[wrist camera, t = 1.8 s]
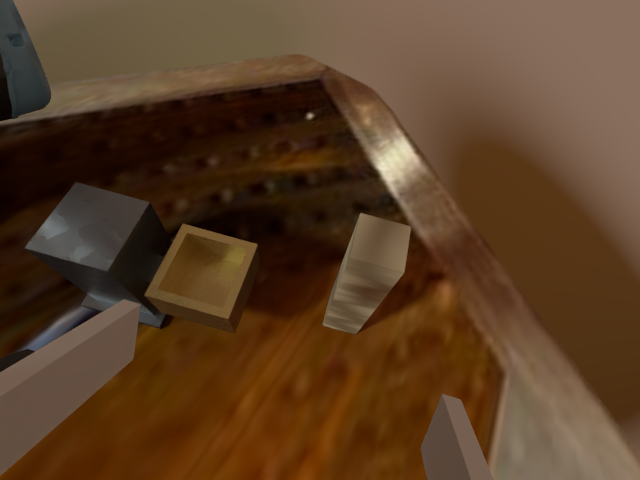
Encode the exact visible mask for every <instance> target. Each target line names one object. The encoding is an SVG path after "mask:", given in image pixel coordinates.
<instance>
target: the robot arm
mask: <svg viewBox="0 0 640 480" xmlns="http://www.w3.org/2000/svg"><path fill="white" fill-rule="evenodd" d="M50 100H51V90H50V87H49V84H48V81H47V78H46V75H45V73H44V70H43V67H42V65H41V62H40V60H39V58H38V55H37V52H36V50H35V48H34V45H33V43H32V41H31V38H30V36H29V34H28V32H27V30H26V27H25V25H24V23H23V21H22V19H21V16H20V14H19V12H18V10H17V8H16V6H15V4H14V2H13V0H0V121H3V120H7V119H15V118H18V116H20V115H23V114H26V113H30V112H33V111H36V110H40V109H43V108H44V107H46V105H47V104H48V103H49V102H50ZM140 305H141V304H138V303H135V302H131V301H128V300H125V299H124V300H122V301H120V302H118V303H117V304H115V305H113V306H112V307H110V308H108V309H107V310H105V311H103V312H102V313H100V314H98V315H96V316H95V317H93V318H91V319H90V320H88V321H86V322H85V323H83V324H81V325H80V326H78V327H76V328H74V329H73V330H71V331H69V332H68V333H66V334H64V335H63V336H61V337H59V338H58V339H56V340H54V341H52V342H51V343H49V344H47V345H46V346H44V347H42V348H41V349H39V350H37V351H36V352H35V351H32V350H29V349H26V350H23V351H20V352H17V353H14V354H11V355H8V356H6V357H4V358H2V359H0V476H1V475H2V474H3V473H4V472H5V471H6V470H8V469H9V468H10V467H11V466H12V465H13V464H14V463H16V462H17V461H18V460H19V459H20V458H21V457H22V456H23V455H25V454H26V453H27V452H28V451H29V450H30V449H31V448H33V447H34V446H35V445H36V444H37V443H38V442H39V441H41V440H42V439H43V438H44V437H45V436H46V435H47V434H49V433H50V432H51V431H52V430H53V429H54V428H55V427H57V426H58V425H59V424H60V423H61V422H62V421H63V420H65V419H66V418H67V417H68V416H69V415H70V414H71V413H73V412H74V411H75V410H76V409H77V408H78V407H79V406H81V405H82V404H83V403H84V402H85V401H86V400H87V399H89V398H90V397H91V396H92V395H93V394H94V393H95V392H97V391H98V390H99V389H100V388H101V387H102V386H103V385H104V384H106V383H107V382H108V381H109V380H110V379H111V378H112V377H114V376H115V375H116V374H117V373H118V372H119V371H120V370H122V369H123V368H124V367H125V366H126V365H127V364H128V363H130V362H131V361H132V360H133V358H134V351H135V343H136V336H137V328H138V320H139V313H140ZM421 452H422V457H423V462H424V467H425V472H426V477H427V480H493V477H492V475H491V473H490V470H489V468H488V465H487V463H486V460H485V458H484V455H483V453H482V450H481V448H480V446H479V443H478V441H477V438H476V436H475V433H474V431H473V428H472V426H471V423H470V421H469V419H468V416H467V414H466V411H465V409H464V406H463V404H462V401H461V399H457V398H454V397H451V396H447V395H444V394H442V396H441V398H440V401H439V403H438V406H437V408H436V411H435V413H434V416H433V418H432V420H431V423H430V425H429V428H428V430H427V433H426V435H425V438H424V440H423V443H422V445H421Z"/></svg>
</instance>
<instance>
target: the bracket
mask: <svg viewBox="0 0 640 480" xmlns="http://www.w3.org/2000/svg"><path fill="white" fill-rule="evenodd" d="M25 249H26V250H28V251H29V252H31V253H32V254H33V255H35V256H36V257H38V258H39V259H40V260H42V261H43V262H44V263H46V264H47V265H49V266H50V267H51V268H53V269H54V270H55V271H57V272H58V273H60V274H61V275H62V276H64V277H65V278H67V279H68V280H69V281H71V282H72V283H73V284H75V285H76V286H78V287H79V288H80V289H82V290H83V291H85V292H86V293H87V296H86V298H85V299H84V301H83V302H82V304H81V305H82V306H84V307H86V308H89V309H93V310H96V311H100V312H103V311H105V310H107V309H108V308H110V307H112V306H113V305H115V304H117V303H118V302H120V301H122V300H124V299H125V300H128V301H131V302H135V303H138V304H141V305H140V313H139V320H138V323H142V324H145V325H149V326H152V327H156V328H159V329H162V327H163V325H164V323H165V320H166V318H167V316H168V315H172V316H175V317H179V318H182V319H186V320H189V321H193V322H196V323H200V324H203V325H207V326H210V327H214V328H217V329H221V330H224V331H228V332H231V333H235V332H236V329H237V326H238V324H239V321H240V318H241V316H242V313H243V310H244V308H245V305H246V302H247V300H248V297H249V295H250V292H251V289H252V287H253V284H254V281H255V279H256V276H257V273H258V271H259V268H260V259H259V250H258V244H255V243H251V242H248V241H244V240H240V239H237V238H233V237H229V236H226V235H222V234H219V233H215V232H211V231H208V230H204V229H200V228H197V227H193V226H190V225H186V224H182V226H181V228H180V230H179V232H178V233H177V235H176V237H175V239H174V241H173V243H172V241H171V239H170V237H169V236H168V234H167V232H166V230H165V229H164V227H163V225H162V223H161V221H160V220H159V218H158V216H157V214H156V213H155V211H154V209H153V207H152V205H151V204H150V202H147V201H143V200H139V199H136V198H132V197H128V196H125V195H121V194H117V193H114V192H110V191H106V190H103V189H99V188H96V187H92V186H88V185H85V184H81V183H77V182H76V183H75V184H74V185H73V187H72V188H71V189H70V190H69V192H68V193H67V194H66V196H65V197H64V198H63V199H62V201H61V202H60V203H59V205H58V206H57V207H56V208H55V210H54V211H53V212H52V214H51V215H50V216H49V217H48V219H47V220H46V221H45V223H44V224H43V225H42V226H41V228H40V229H39V230H38V232H37V233H36V234H35V235H34V237H33V238H32V239H31V240H30V242H29V243H28V244H27V246H26V247H25Z"/></svg>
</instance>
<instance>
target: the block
mask: <svg viewBox="0 0 640 480" xmlns="http://www.w3.org/2000/svg"><path fill="white" fill-rule="evenodd" d="M410 230H411V226H407V225H403V224H399V223H396V222H392V221H388V220H385V219H381V218H377V217H373V216H370V215H366V214H362V213H360V216H359V219H358V221H357V224H356V227H355V229H354V232H353V235H352V237H351V240H350V243H349V245H348V248H347V251H346V253H345V256H344V259H343V262H342V264H341V267H340V270H339V272H338V275H337V278H336V280H335V283H334V286H333V288H332V291H331V294H330V298H329V302H328V306H327V310H326V314H325V318H324V322H323V325H324V326H327V327H331V328H334V329H338V330H342V331H345V332H349V333H352V334H357V332H358V331H359V330H360V329H361V327H362V326H363V325H364V323H365V322H366V321H367V320H368V318H369V317H370V316H371V315H372V313H373V312H374V311H375V309H376V308H377V307H378V306H379V304H380V303H381V302H382V301H383V299H384V298H385V297H386V295H387V294H388V293H389V292H390V290H391V289H392V288H393V287H394V285H395V284H396V283H397V282H398V280H399V279H400V278H401V276H402V275H403V274H404V272H405V265H406V258H407V251H408V244H409V237H410Z"/></svg>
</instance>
